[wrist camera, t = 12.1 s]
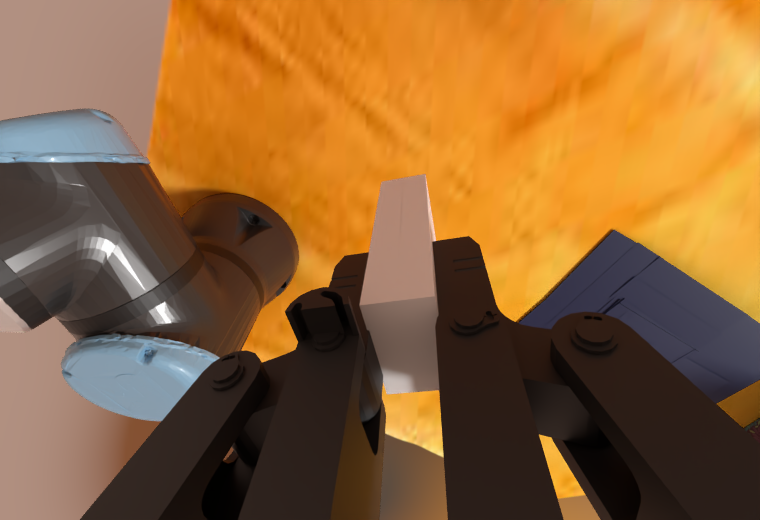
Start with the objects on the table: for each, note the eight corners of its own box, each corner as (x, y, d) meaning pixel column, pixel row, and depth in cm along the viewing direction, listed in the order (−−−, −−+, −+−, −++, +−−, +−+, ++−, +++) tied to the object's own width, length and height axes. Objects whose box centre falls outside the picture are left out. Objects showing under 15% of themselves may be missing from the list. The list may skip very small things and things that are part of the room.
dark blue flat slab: (636, 430, 63) (646, 450, 59) (483, 339, 59) (485, 356, 56) (791, 338, 50) (813, 358, 47) (608, 218, 47) (618, 231, 44)
